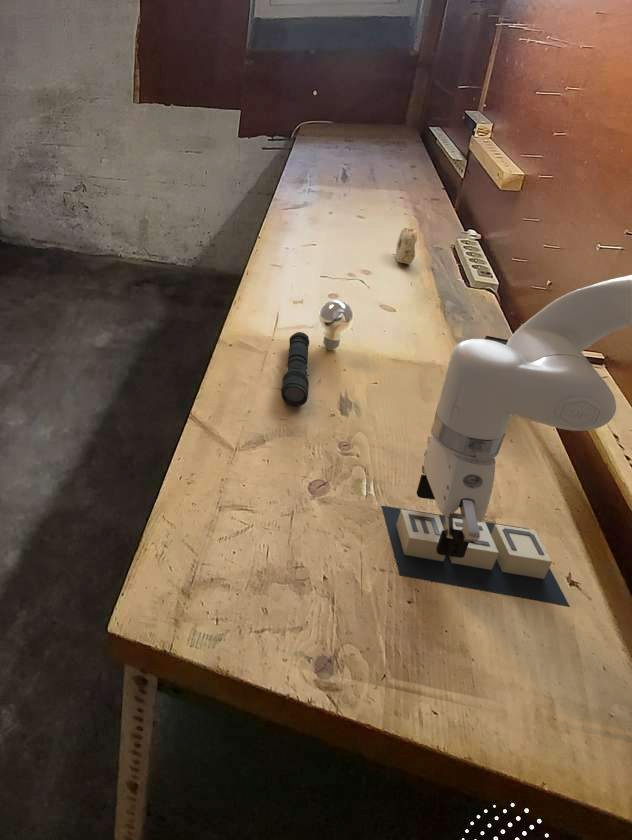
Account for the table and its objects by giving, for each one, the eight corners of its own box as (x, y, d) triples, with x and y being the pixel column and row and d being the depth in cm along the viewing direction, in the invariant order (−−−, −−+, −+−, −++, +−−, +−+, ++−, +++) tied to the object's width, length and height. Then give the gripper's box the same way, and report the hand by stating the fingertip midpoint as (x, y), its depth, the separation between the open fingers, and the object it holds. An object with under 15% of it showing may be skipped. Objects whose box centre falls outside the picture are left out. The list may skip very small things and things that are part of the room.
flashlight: (279, 404, 109) (282, 383, 107) (286, 347, 127) (289, 328, 124) (306, 409, 108) (309, 388, 106) (309, 351, 125) (312, 332, 123)
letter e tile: (433, 531, 82) (438, 514, 81) (443, 561, 78) (449, 544, 76) (395, 525, 84) (401, 508, 82) (404, 554, 79) (409, 537, 78)
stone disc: (392, 253, 169) (399, 222, 164) (406, 254, 168) (413, 223, 163) (397, 268, 160) (405, 235, 156) (412, 269, 159) (420, 237, 155)
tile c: (527, 547, 80) (535, 529, 78) (544, 579, 75) (552, 561, 74) (488, 540, 81) (495, 523, 79) (501, 571, 76) (509, 554, 75)
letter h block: (478, 539, 81) (485, 521, 79) (491, 570, 77) (499, 552, 75) (440, 532, 82) (446, 515, 81) (451, 563, 78) (457, 545, 76)
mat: (528, 530, 82) (529, 528, 82) (569, 608, 72) (570, 606, 72) (380, 507, 87) (381, 505, 87) (399, 577, 77) (399, 575, 76)
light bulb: (347, 359, 122) (357, 312, 116) (313, 354, 124) (321, 307, 118) (345, 342, 128) (355, 296, 122) (313, 338, 130) (321, 292, 124)
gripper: (530, 486, 63) (492, 585, 71) (475, 391, 78) (448, 481, 86) (456, 477, 65) (426, 574, 73) (416, 386, 80) (394, 474, 88)
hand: (438, 524), depth 79 cm, fingers open, 9 cm apart
